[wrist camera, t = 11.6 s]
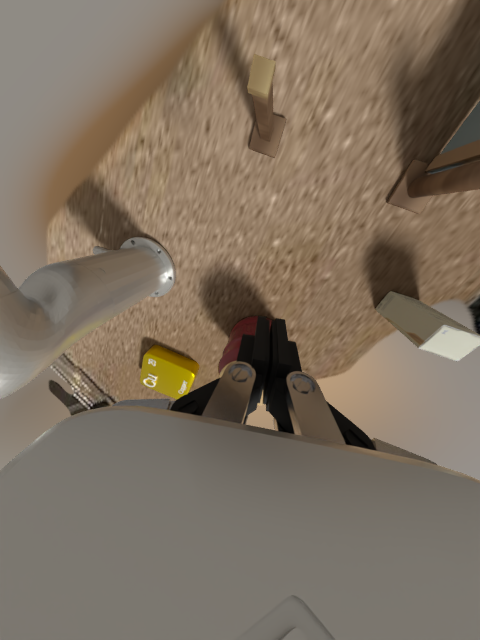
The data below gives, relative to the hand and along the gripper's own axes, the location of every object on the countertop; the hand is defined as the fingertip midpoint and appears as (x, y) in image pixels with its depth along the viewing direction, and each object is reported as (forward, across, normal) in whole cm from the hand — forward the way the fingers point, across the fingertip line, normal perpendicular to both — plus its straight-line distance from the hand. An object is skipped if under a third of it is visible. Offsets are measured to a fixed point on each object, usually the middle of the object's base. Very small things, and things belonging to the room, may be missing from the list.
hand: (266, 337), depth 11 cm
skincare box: (+26, -26, +6) cm, 37 cm away
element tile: (+28, +24, +36) cm, 51 cm away
